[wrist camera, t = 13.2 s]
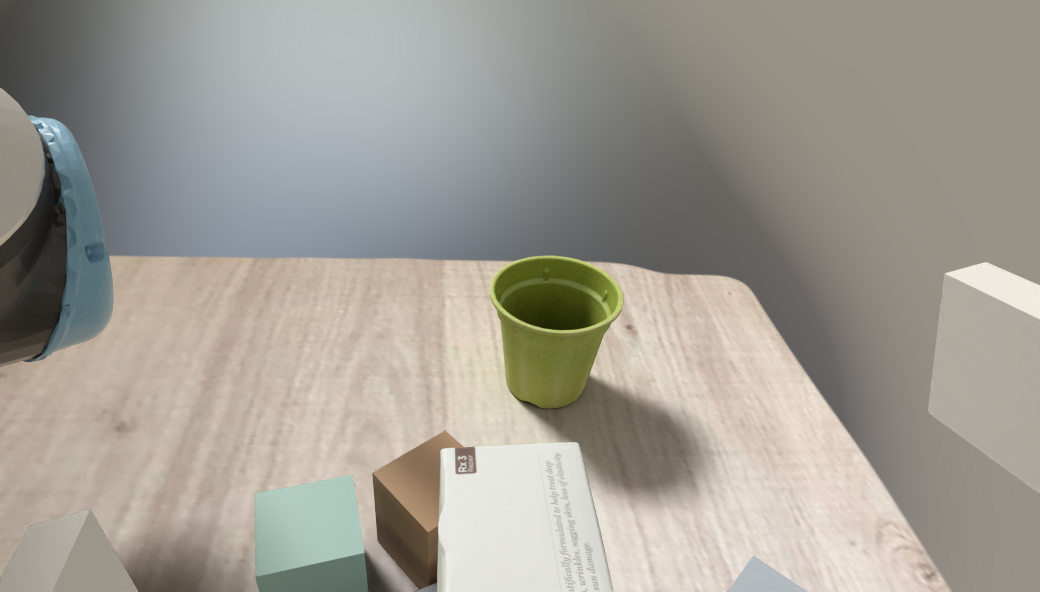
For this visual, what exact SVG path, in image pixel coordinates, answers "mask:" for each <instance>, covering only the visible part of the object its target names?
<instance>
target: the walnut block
mask: <svg viewBox="0 0 1040 592" xmlns="http://www.w3.org/2000/svg"><path fill="white" fill-rule="evenodd" d="M445 448H464V447H463V446H462V445H461V444H459V443H458V442H457V441H456V440H455V439H454V438H453V437H452V436H451V435H450V434H448V433H447V432H446V431H444V432H442V433H440V434H438V435H437V436H435V437H433V438H432V439H430V440H428V441H426V442H425V443H423V444H421V445H420V446H418V447H416V448H414V449H413V450H411V451H409V452H407V453H406V454H404V455H402V456H401V457H399V458H397V459H395V460H394V461H392V462H390V463H389V464H387V465H385V466H383V467H382V468H380V469H378V470H377V471H375V472H373V486H374V499H375V512H376V525H377V538H378V542H379V543H380V544H381V545H382V546H383V548H384V549H385V550H386V551H387V552H388V553H389V555H390V556H391V557H392V558H393V559H394V560H395V562H396V563H397V564H398V565H399V566H400V567H401V569H402V570H403V571H404V572H405V573H406V574H407V576H408V577H409V578H410V579H411V580H412V581H413V583H414V584H415V585H416V586H417V587H418V588H419V589H423V588H425V587H428V586H430V585H433V584H435V583H437V566H438V524H439V499H440V463H441V457H440V451H441V450H442V449H445Z"/></svg>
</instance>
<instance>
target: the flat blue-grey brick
mask: <svg viewBox="0 0 1040 592" xmlns="http://www.w3.org/2000/svg"><path fill="white" fill-rule="evenodd" d="M728 592H807V591H806V590H804V589H803V588H801V587H800V586H798V585H797V584H795V583H794V582H792V581H791V580H789V579H788V578H786V577H785V576H783V575H782V574H780V573H779V572H777V571H776V570H774V569H773V568H771V567H770V566H768V565H767V564H765V563H764V562H762V561H761V560H759V559H758V558H756V557H755V556H753V557H752V558H751V560H750V561H749V563H748V564H747V565H746V567H745V568H744V570H743V571H742V572H741V574H740V575H739V576H738V578H737V579H736V581H735V582H734V583H733V585H732V586H731V587H730V589H729V590H728Z"/></svg>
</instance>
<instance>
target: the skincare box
mask: <svg viewBox="0 0 1040 592" xmlns="http://www.w3.org/2000/svg"><path fill="white" fill-rule="evenodd" d="M440 457H441V463H440V499H439V524H438V566H437V592H613V587H612V582H611V577H610V573H609V568H608V563H607V559H606V554H605V549H604V545H603V540H602V536H601V531H600V527H599V523H598V518H597V514H596V510H595V506H594V502H593V498H592V494H591V489H590V485H589V481H588V476H587V472H586V468H585V465H584V461H583V457H582V453H581V449H580V446H579V444H578V443H577V442H560V443H537V444H520V445H499V446H477V447H464V448H445V449H442V450H441V451H440Z"/></svg>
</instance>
